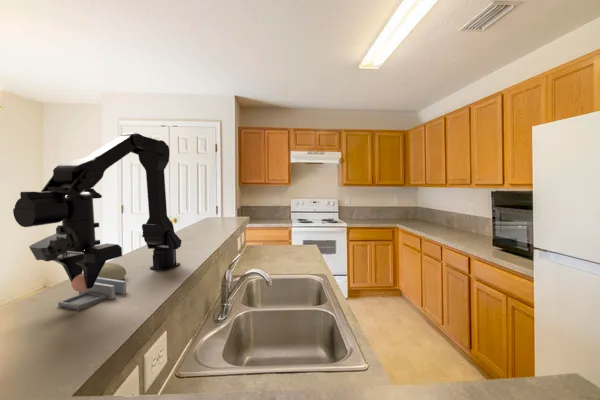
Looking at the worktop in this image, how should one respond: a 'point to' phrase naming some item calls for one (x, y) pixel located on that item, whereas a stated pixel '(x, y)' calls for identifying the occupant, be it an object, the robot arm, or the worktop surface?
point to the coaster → (82, 300)
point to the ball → (79, 283)
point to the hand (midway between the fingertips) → (82, 287)
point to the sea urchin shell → (112, 271)
